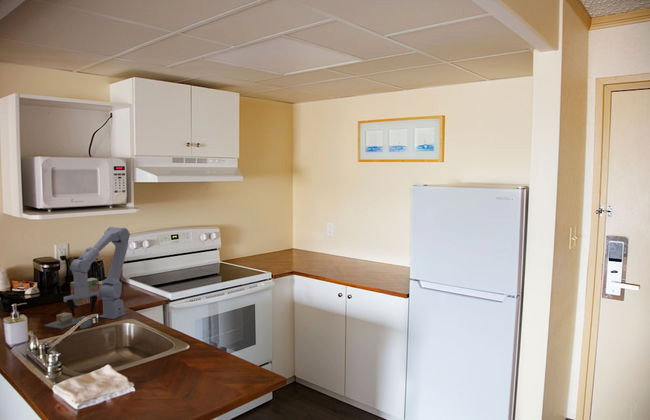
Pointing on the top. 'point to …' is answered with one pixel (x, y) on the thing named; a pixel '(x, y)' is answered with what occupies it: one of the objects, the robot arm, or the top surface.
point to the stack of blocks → (92, 287)
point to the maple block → (64, 318)
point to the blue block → (85, 324)
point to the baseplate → (60, 326)
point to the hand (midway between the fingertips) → (82, 314)
